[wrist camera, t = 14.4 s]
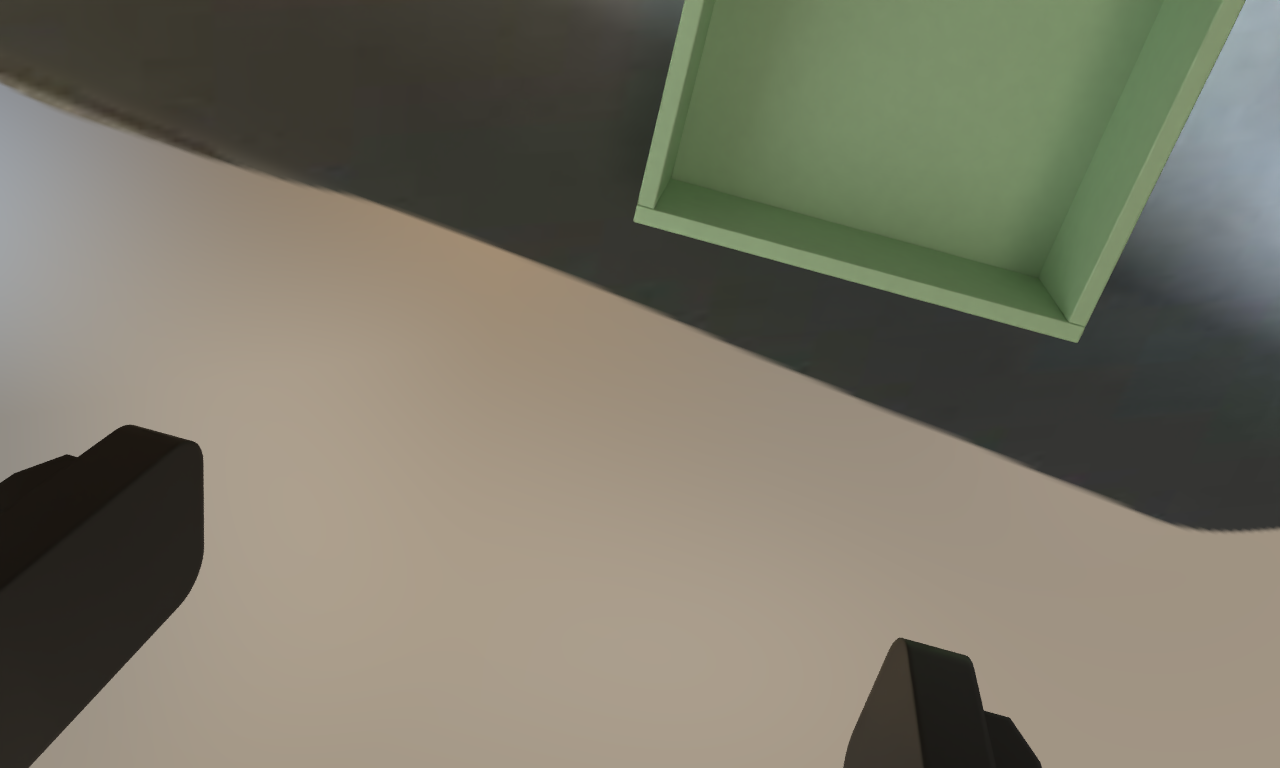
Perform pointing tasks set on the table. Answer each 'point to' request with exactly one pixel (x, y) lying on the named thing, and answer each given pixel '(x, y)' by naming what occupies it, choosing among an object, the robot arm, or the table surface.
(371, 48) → the table surface
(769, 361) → the table surface
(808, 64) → the basket
